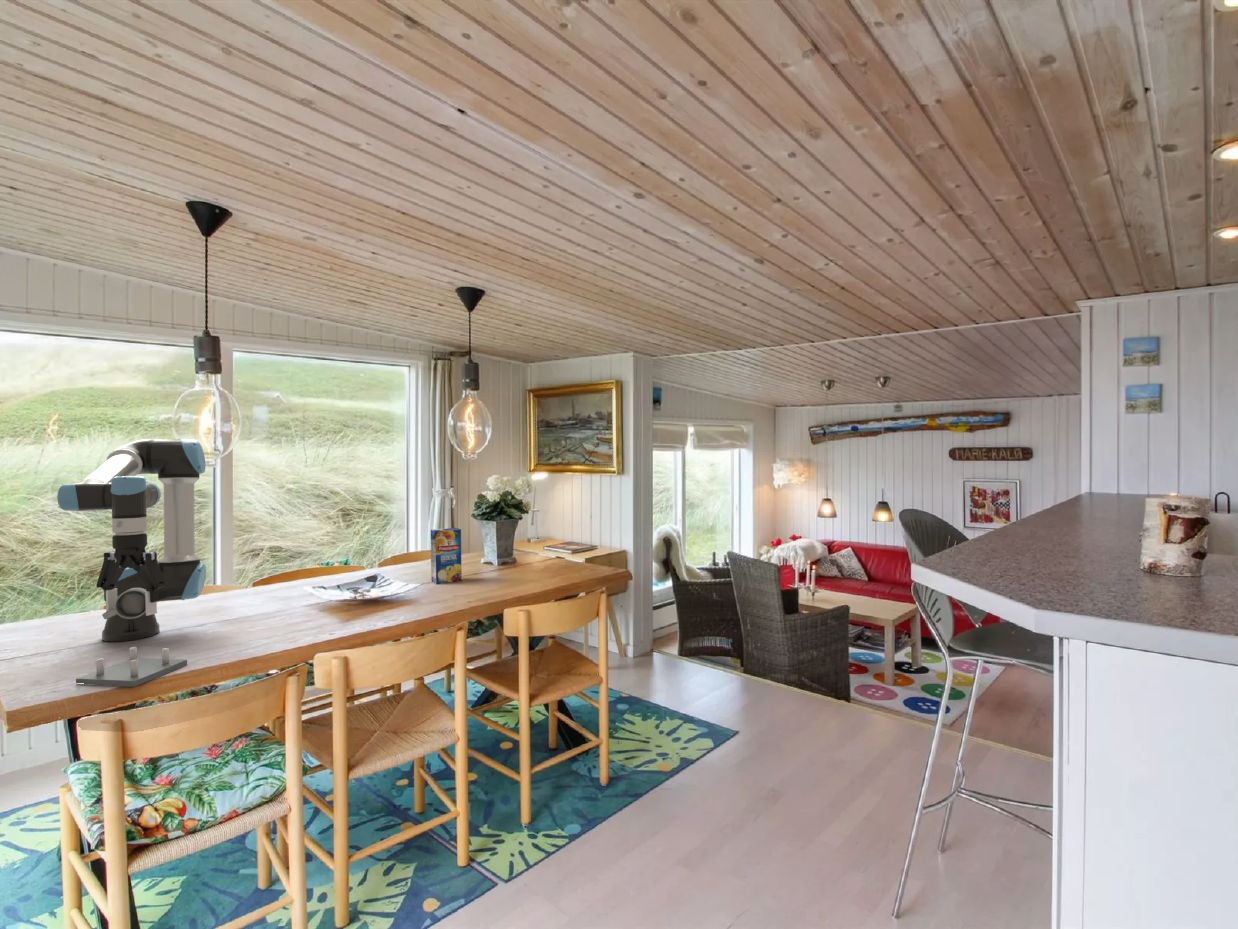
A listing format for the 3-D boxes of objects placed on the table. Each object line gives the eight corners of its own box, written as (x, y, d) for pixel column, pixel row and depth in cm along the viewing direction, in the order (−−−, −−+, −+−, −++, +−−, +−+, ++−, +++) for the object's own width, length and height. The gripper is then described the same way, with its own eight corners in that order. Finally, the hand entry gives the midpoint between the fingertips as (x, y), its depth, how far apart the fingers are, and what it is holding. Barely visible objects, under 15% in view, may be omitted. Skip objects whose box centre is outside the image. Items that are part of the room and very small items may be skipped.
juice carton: (456, 578, 303) (455, 527, 302) (461, 581, 296) (461, 529, 296) (431, 581, 296) (430, 529, 296) (435, 584, 290) (435, 531, 289)
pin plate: (76, 684, 167) (75, 663, 167) (133, 662, 184) (132, 643, 184) (134, 686, 165) (134, 665, 165) (187, 664, 182) (186, 645, 182)
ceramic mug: (153, 610, 180) (152, 583, 180) (150, 616, 173) (148, 588, 173) (105, 616, 175) (103, 588, 174) (100, 623, 168) (98, 593, 167)
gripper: (77, 534, 172) (79, 616, 172) (157, 535, 169) (159, 618, 169) (103, 531, 179) (105, 609, 179) (180, 531, 176) (182, 611, 176)
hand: (131, 613), depth 174 cm, fingers closed on ceramic mug, 11 cm apart
